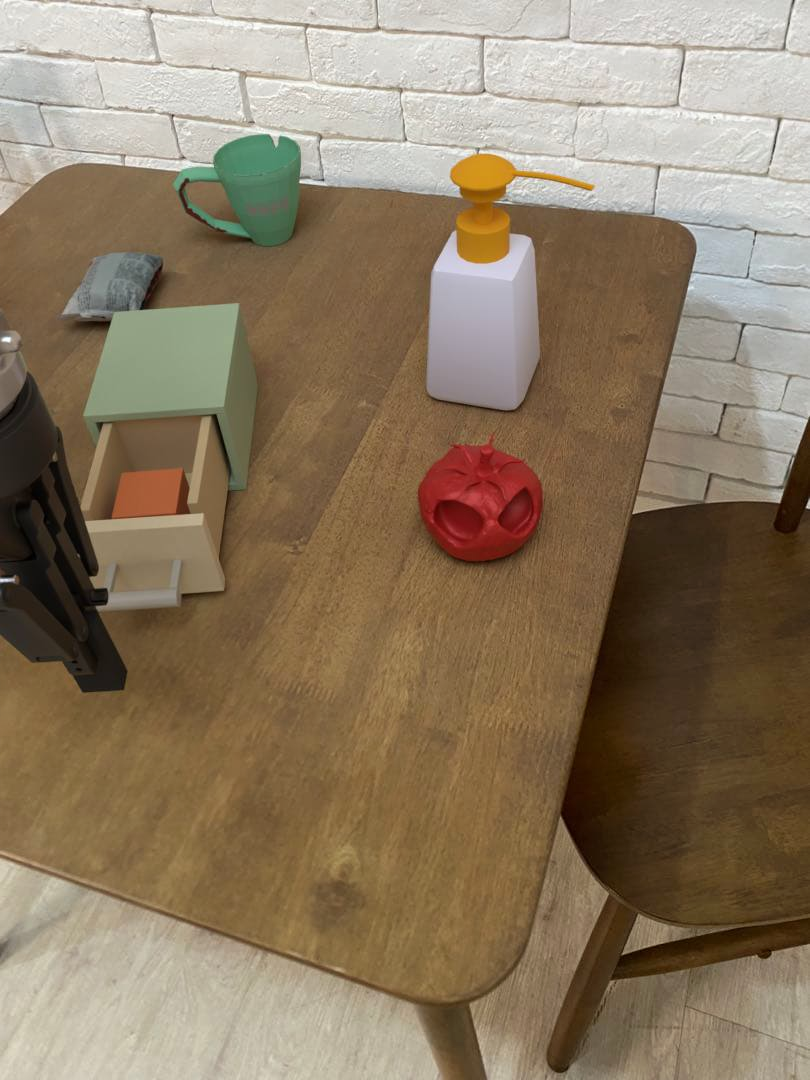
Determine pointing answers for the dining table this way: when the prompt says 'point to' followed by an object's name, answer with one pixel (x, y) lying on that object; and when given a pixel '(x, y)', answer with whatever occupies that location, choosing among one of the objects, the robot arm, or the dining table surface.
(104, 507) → the drawer
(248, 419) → the cabinet
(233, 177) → the mug
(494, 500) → the red carved tomato
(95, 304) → the packaged food
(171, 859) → the dining table surface
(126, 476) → the block
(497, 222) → the soap bottle
